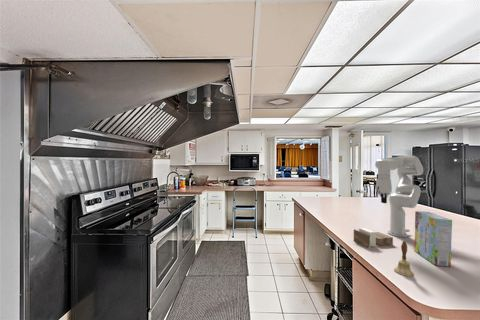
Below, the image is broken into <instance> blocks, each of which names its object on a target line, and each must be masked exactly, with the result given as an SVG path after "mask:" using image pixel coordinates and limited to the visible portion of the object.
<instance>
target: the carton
mask: <svg viewBox="0 0 480 320" xmlns="http://www.w3.org/2000/svg"><path fill="white" fill-rule="evenodd" d="M358 229H359V231H360V232H362V233H365V234H367V235H369V246H376V232H377V231H374V230H371V229H370V228H366V227H359V228H358Z"/></svg>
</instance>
